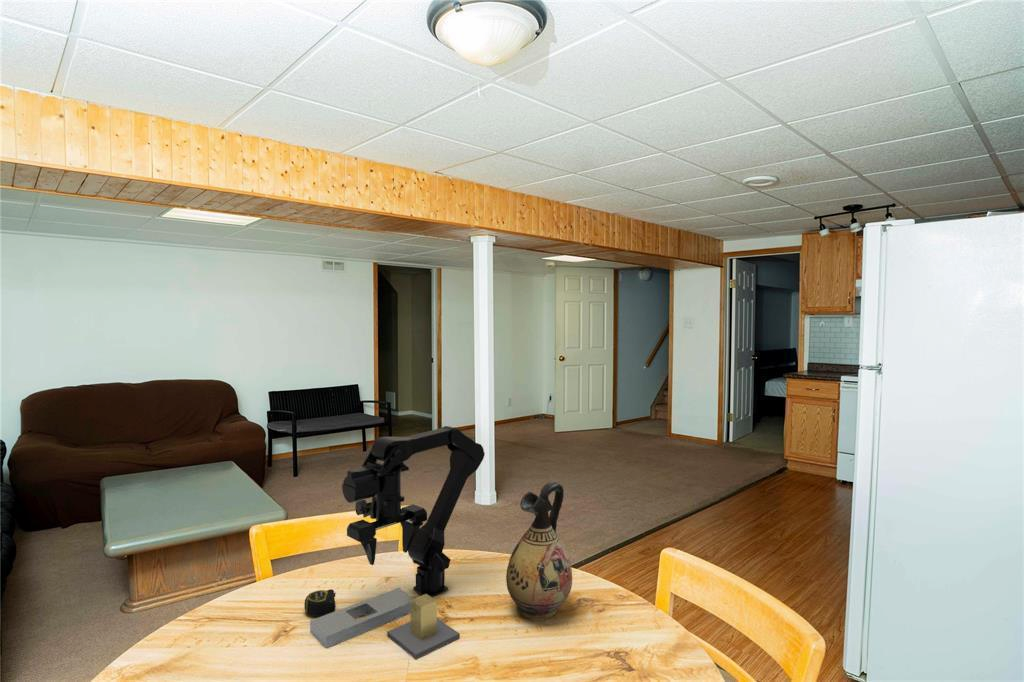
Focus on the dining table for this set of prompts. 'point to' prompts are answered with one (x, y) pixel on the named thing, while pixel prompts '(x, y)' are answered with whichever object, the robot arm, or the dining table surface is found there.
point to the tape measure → (320, 602)
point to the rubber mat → (425, 645)
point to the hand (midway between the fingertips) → (388, 558)
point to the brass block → (423, 616)
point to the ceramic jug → (540, 559)
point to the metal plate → (345, 626)
